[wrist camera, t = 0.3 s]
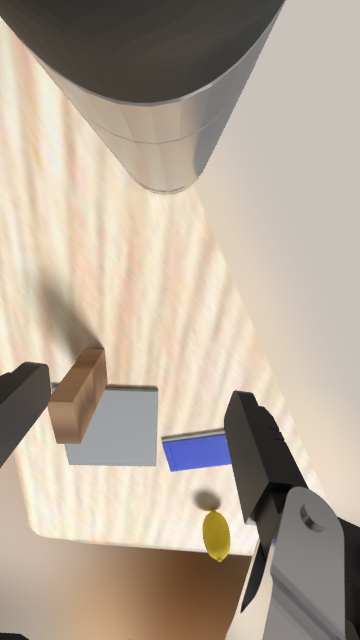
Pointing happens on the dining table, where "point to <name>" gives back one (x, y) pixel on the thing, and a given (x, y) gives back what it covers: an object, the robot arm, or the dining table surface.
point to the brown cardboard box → (78, 396)
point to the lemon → (216, 535)
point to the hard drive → (197, 451)
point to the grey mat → (119, 430)
